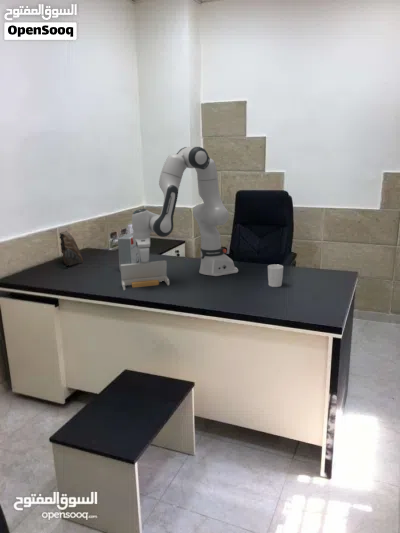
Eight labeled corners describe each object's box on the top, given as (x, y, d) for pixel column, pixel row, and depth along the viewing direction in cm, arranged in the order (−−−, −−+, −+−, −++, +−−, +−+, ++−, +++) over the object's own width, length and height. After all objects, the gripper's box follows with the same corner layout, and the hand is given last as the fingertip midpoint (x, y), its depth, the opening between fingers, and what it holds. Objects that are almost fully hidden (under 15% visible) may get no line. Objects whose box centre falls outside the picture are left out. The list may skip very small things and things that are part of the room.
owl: (67, 266, 262) (63, 234, 256) (55, 263, 270) (52, 232, 264) (84, 261, 271) (80, 231, 266) (72, 259, 279) (69, 229, 274)
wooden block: (158, 283, 224) (157, 279, 224) (159, 285, 222) (158, 281, 221) (131, 286, 221) (131, 282, 221) (132, 288, 218) (132, 283, 218)
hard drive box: (131, 272, 245) (129, 239, 240) (119, 272, 247) (116, 238, 241) (140, 265, 260) (138, 233, 254) (129, 264, 261) (126, 233, 256)
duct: (166, 280, 228) (166, 275, 227) (169, 285, 220) (169, 279, 219) (121, 285, 222) (121, 280, 221) (123, 290, 214) (123, 284, 213)
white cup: (273, 288, 211) (274, 269, 209) (264, 284, 218) (264, 265, 215) (285, 285, 215) (286, 267, 212) (276, 281, 222) (276, 263, 219)
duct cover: (166, 275, 226) (165, 273, 228) (166, 261, 221) (166, 260, 222) (121, 280, 220) (121, 278, 222) (120, 265, 215) (120, 264, 216)
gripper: (133, 237, 227) (135, 261, 230) (137, 245, 208) (139, 272, 211) (145, 236, 228) (146, 260, 232) (150, 244, 209) (152, 270, 213)
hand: (143, 266), depth 222 cm, fingers closed
